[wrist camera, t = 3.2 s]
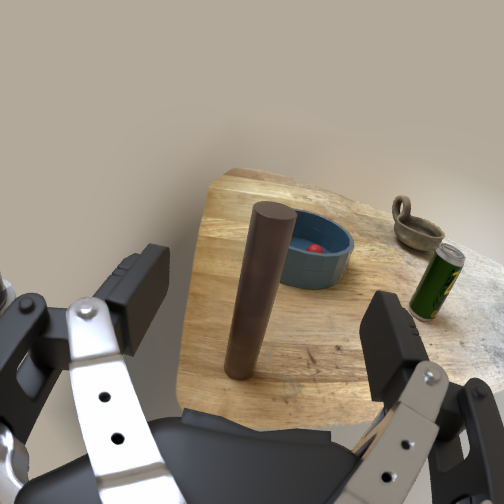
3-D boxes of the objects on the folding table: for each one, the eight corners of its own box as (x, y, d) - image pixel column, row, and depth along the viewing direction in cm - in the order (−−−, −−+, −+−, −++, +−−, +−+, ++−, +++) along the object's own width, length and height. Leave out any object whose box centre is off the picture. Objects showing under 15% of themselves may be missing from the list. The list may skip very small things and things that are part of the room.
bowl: (415, 262, 60) (432, 222, 55) (370, 225, 74) (382, 189, 69) (445, 259, 65) (461, 225, 60) (402, 226, 79) (414, 194, 74)
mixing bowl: (236, 269, 47) (242, 234, 44) (263, 228, 61) (269, 200, 58) (341, 301, 44) (354, 268, 41) (343, 251, 58) (353, 224, 55)
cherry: (302, 262, 51) (307, 247, 49) (305, 254, 53) (309, 239, 52) (319, 267, 50) (324, 252, 49) (321, 259, 53) (326, 244, 51)
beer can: (404, 312, 44) (436, 248, 38) (411, 298, 48) (439, 238, 42) (430, 327, 41) (466, 265, 35) (435, 312, 45) (467, 253, 39)
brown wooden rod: (219, 373, 29) (247, 211, 20) (229, 353, 32) (259, 197, 23) (248, 384, 29) (293, 224, 20) (257, 362, 32) (300, 208, 23)
